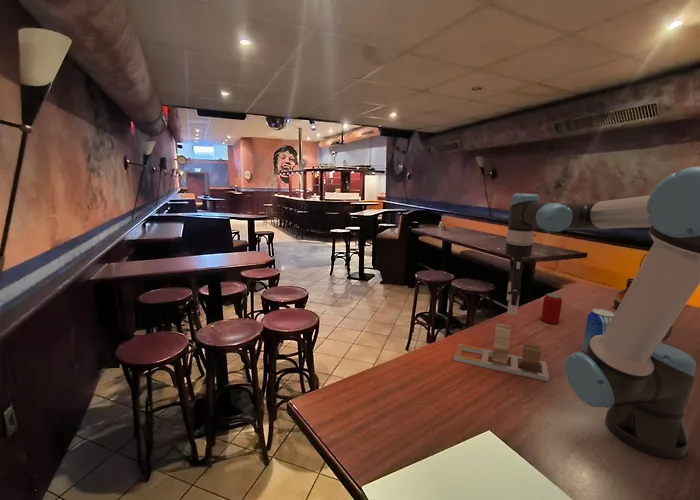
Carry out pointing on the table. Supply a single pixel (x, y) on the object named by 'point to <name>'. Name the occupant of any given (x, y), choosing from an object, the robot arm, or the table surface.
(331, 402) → the table surface
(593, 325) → the beer can
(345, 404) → the table surface
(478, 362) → the white yellow rectangular frame
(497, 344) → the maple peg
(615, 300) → the vase
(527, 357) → the walnut peg
